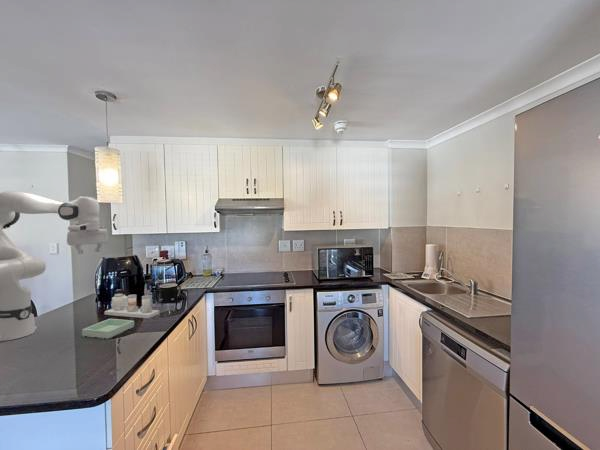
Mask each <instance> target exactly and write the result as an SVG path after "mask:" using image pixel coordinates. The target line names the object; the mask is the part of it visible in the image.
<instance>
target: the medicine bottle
mask: <svg viewBox="0 0 600 450" xmlns="http://www.w3.org/2000/svg"><path fill="white" fill-rule="evenodd" d="M119 293H123V305H125V308H126V306H128V295H126V289H123V288H120V289H116V290H114V295H115V294H119ZM113 305H115V297H114V296H113V297H111V309H113Z"/></svg>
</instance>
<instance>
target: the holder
mask: <svg viewBox="0 0 600 450" xmlns="http://www.w3.org/2000/svg"><path fill="white" fill-rule="evenodd" d="M114 308H115V305H113V308H110V309H108V310H104V315H105V316H106V315H107V316H116V317H128V318H129V317H130V318H139V319H140V318H141V319H151V318H152V317H155V316H158V315H159V314H160V310H158V309H153V307H152V306H150V308H149V313H142V306H140V307H139V306H137V305H136V307H135V311H134V312H128V306H126V307H125V305H122V306H121V310H120V311H114Z"/></svg>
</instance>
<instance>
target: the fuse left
mask: <svg viewBox="0 0 600 450" xmlns="http://www.w3.org/2000/svg"><path fill="white" fill-rule="evenodd" d="M113 297H115V308H114V311H120V310H121V306H122V305H123V293H119V294H115V293H114V296H113Z"/></svg>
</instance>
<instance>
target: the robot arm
mask: <svg viewBox="0 0 600 450" xmlns="http://www.w3.org/2000/svg"><path fill="white" fill-rule="evenodd" d="M21 214H26V215H27V214H28V215H40V214H58V216H59V217H60V218H61V219H62V220H65V221H72V222H73V221H78V223H75V224H73V225H72V224H71V225H69V226H68V227H67V230H68V232H67V236H66V243H67V245H68V246H74V248H75V249H76V250H77V255H81V254H84V250H83V249H82V246H83V245H84V246H85V245H93V244H95V245H96V248H94V252H96V253H99V252H101V249H102V246H103V244H107V243H109V232H108V228H107V227H106V226H100V217H99V215H100V203H99V200H98V199H97V198H96V197H92V196H85V195H81V196H79V197H77V199H74V200H71V201H68V202H60V201H57V200H54V199H50V198H46V197H43V196H40V195H37V194H33V193H29V192H24V191H15V190H14V191H13V190H6V191H2V192H0V342H5V341H11V340H12V341H13V340H17V339H20V338H23V337H27V336H30V335H32V334H34V333H36V330H37V329H38V326H37V325H36V321H35V315H34V314H33V313H32V312H33V306H32V303H31V300H32V294H31V293H32V292H31V290H30V289H29V288H27V287H25V286H22V285H21V284H20V280H21V281H22V280H26V279H31V278H35V277H38V276H40V275H42V274H43V273H45V271H46V269H47V268H46V266H47V265H46V263H45V261H44V259H42V258H40V257H36V256H33V255H31V254H29V253H26V252H25V251H24V250H22V249H20V248H19V247H17V246H16V245H15V244H14V243H13V241H11V239H10V238H9V237H8V236H7V234H6V233H5V232H4V229H8V228H10V227H11V226H12V225H15V224H16V223H17V222H18V221H19V219H20V217H21Z"/></svg>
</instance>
